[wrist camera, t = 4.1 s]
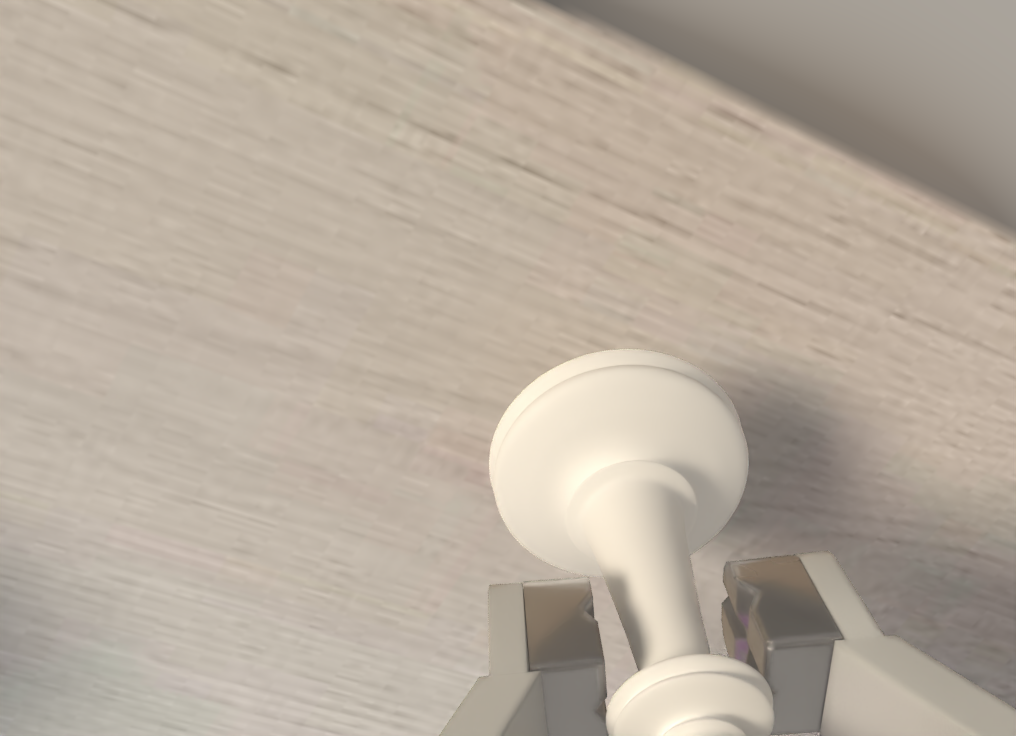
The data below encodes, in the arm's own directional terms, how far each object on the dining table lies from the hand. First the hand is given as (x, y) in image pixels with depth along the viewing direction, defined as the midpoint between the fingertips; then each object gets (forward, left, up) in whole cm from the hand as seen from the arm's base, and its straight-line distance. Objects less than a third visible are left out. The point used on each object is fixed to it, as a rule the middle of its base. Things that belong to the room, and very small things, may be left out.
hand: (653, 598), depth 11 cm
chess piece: (0, 0, -4) cm, 4 cm away
